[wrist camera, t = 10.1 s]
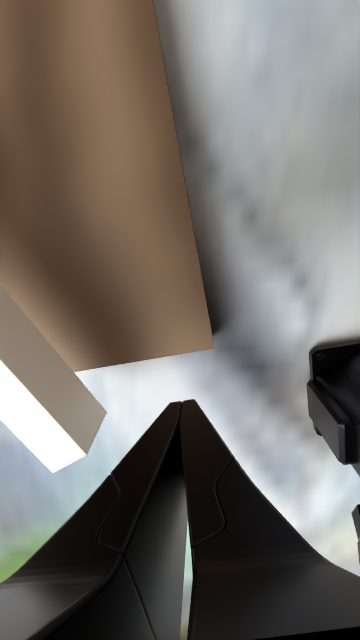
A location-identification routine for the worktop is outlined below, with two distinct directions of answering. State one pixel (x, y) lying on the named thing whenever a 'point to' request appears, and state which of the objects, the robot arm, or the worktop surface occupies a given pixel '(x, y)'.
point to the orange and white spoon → (42, 393)
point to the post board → (95, 185)
